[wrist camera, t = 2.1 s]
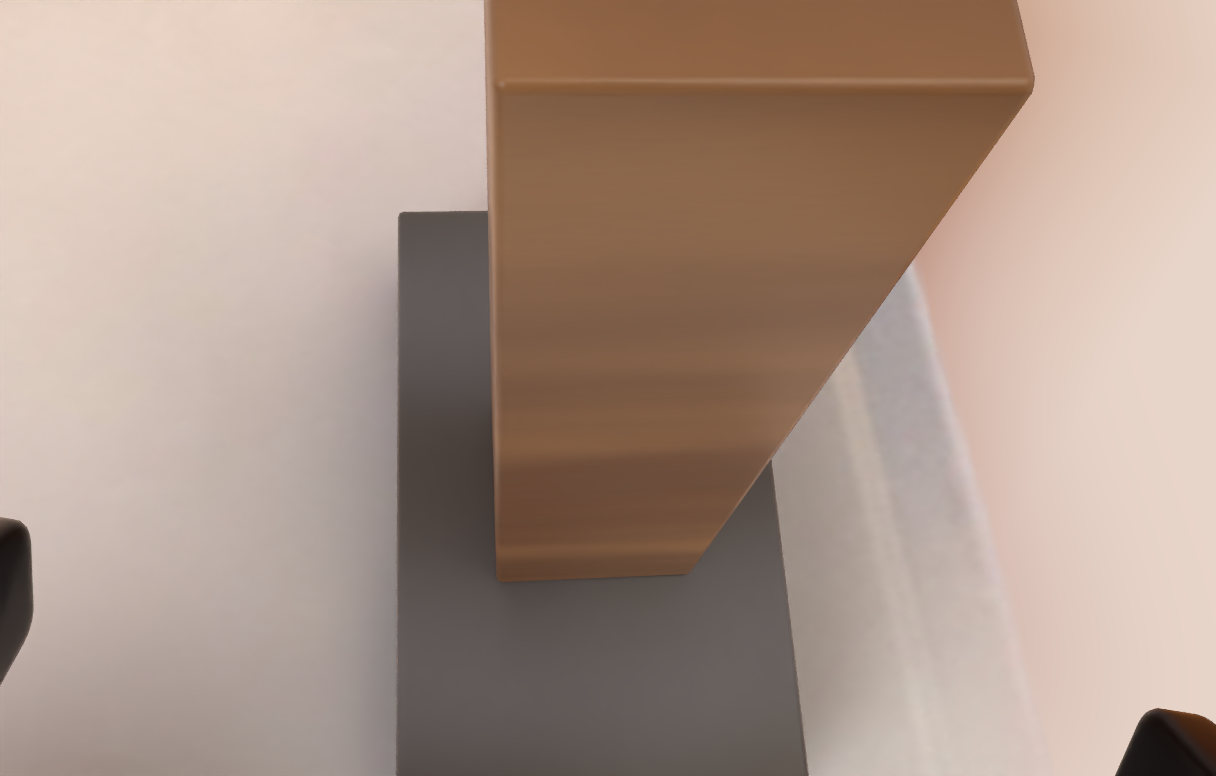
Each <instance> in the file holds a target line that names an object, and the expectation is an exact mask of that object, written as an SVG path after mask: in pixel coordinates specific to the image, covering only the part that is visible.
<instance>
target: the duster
mask: <svg viewBox="0 0 1216 776" xmlns="http://www.w3.org/2000/svg"><path fill="white" fill-rule="evenodd" d="M484 27H485V82H486V136H487V190H488V211H449V212H402V213H400V215H399V217H398V418H397V728H396V776H809V774H808V765H807V757H806V748H805V740H804V731H803V723H802V714H801V706H800V697H799V689H798V680H797V672H796V664H795V655H794V647H793V638H792V630H791V621H790V613H789V604H788V596H787V587H786V579H785V570H784V562H783V553H782V545H781V537H780V528H779V520H778V511H777V503H776V494H775V486H774V477H773V469H772V460H771V458H772V457H773V456H774V454H775V453H776V451H777V450H778V449H779V447H780V446H781V444H782V443H783V442H784V440H785V439H786V437H787V436H788V435H789V433H790V432H791V430H792V429H793V428H794V426H795V425H796V423H797V422H798V421H799V419H800V418H801V416H802V415H803V414H804V412H805V411H806V409H807V408H808V407H809V405H810V404H811V402H812V401H813V400H814V398H815V397H816V395H817V394H818V392H819V391H820V390H821V388H822V387H823V385H824V384H825V383H826V381H827V380H828V378H829V377H830V376H831V374H832V373H833V371H834V370H835V369H836V367H837V366H838V364H839V363H840V362H841V360H842V359H843V357H844V356H845V355H846V353H847V352H848V350H849V349H850V348H851V346H852V345H853V343H854V342H855V341H856V339H857V338H858V336H859V335H860V334H861V332H862V331H863V329H864V328H865V327H866V325H867V324H868V322H869V321H870V320H871V318H872V317H873V315H874V314H875V313H876V311H877V310H878V308H879V307H880V306H881V304H882V303H883V301H884V300H885V298H886V297H887V296H888V294H889V293H890V291H891V290H892V289H893V287H894V286H895V284H896V283H897V282H898V280H899V279H900V277H901V276H902V275H903V273H904V272H905V270H906V269H907V268H908V266H909V265H910V263H911V262H912V261H913V259H914V258H915V256H916V255H917V254H918V252H919V251H920V249H921V248H922V247H923V245H924V244H925V242H926V241H927V240H928V238H929V237H930V235H931V234H932V233H933V231H934V230H935V228H936V227H937V225H938V224H939V223H940V221H941V220H942V218H943V217H944V216H945V214H946V213H947V212H948V210H949V209H950V207H951V206H952V204H953V203H954V202H955V200H956V199H957V197H958V196H959V195H960V193H961V192H962V190H963V189H964V188H965V186H966V185H967V183H968V182H969V180H970V179H971V178H972V176H973V175H974V173H975V172H976V171H977V169H978V168H979V167H980V165H981V164H982V162H983V161H984V159H985V158H986V157H987V155H988V154H989V153H990V151H991V150H992V148H993V147H994V145H995V144H996V143H997V141H998V140H999V138H1000V137H1001V136H1002V134H1003V133H1004V132H1005V130H1006V129H1007V127H1008V126H1009V125H1010V123H1011V122H1012V120H1013V119H1014V118H1015V116H1016V115H1017V113H1018V112H1019V110H1020V109H1021V108H1022V106H1023V105H1024V103H1025V102H1026V101H1027V99H1028V98H1029V96H1030V95H1031V94H1032V91H1033V87H1034V77H1035V76H1034V72H1033V68H1032V64H1031V59H1030V55H1029V50H1028V46H1027V42H1026V38H1025V33H1024V29H1023V25H1022V20H1021V16H1020V12H1019V8H1018V3H1017V0H484Z"/></svg>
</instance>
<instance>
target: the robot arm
mask: <svg viewBox="0 0 1216 776" xmlns="http://www.w3.org/2000/svg"><path fill="white" fill-rule="evenodd" d="M32 617H33V583H32V558H31V540H30V534H29V531H28V529H27V527H26V526H25V525H24V524H23V523H22V522H21V521H18V520H14V519H8V518H2V517H0V685H1V683H2V682H3V680H4V678H5V676H6V674H7V672H8V671H9V669H10V667H11V665H12V663H13V662H14V660H15V658H16V656H17V654H18V653H19V651H20V649H21V647H22V645H23V643H24V641H25V639H26V637H27V635H28V632H29V630H30V626H31V622H32ZM1115 776H1216V724H1214V723H1213V722H1212V721H1210V720H1209V719H1207V718H1205V717H1203V716H1200V715H1197V714H1191V713H1185V712H1179V711H1172V710H1166V709H1159V708H1157V709H1153V710H1150V711H1148V712H1146V713H1145V715H1144V716H1143V717H1142V718H1141V720H1140V721H1139V723H1138V725H1137V727H1136V730H1135V732H1134V734H1133V736H1132V739H1131V741H1130V743H1129V745H1128V748H1127V750H1126V752H1125V754H1124V757H1123V759H1122V761H1121V763H1120V766H1119V768H1118V770H1117V773H1116V775H1115Z"/></svg>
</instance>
